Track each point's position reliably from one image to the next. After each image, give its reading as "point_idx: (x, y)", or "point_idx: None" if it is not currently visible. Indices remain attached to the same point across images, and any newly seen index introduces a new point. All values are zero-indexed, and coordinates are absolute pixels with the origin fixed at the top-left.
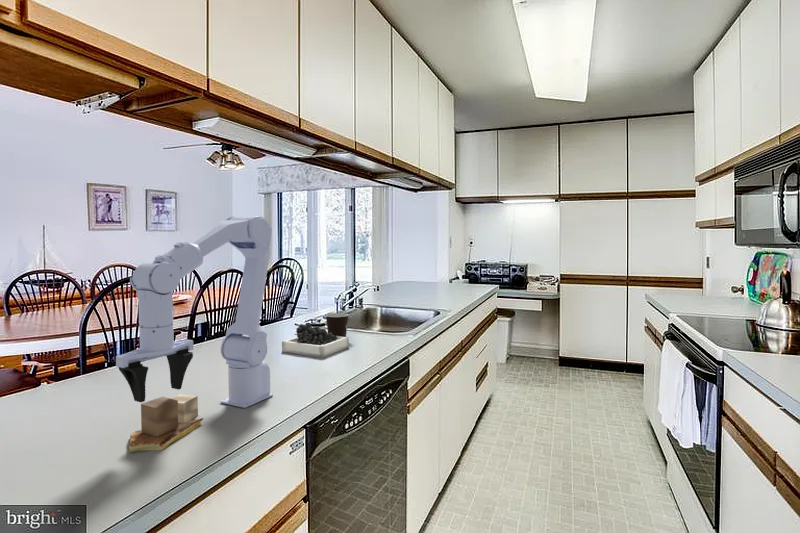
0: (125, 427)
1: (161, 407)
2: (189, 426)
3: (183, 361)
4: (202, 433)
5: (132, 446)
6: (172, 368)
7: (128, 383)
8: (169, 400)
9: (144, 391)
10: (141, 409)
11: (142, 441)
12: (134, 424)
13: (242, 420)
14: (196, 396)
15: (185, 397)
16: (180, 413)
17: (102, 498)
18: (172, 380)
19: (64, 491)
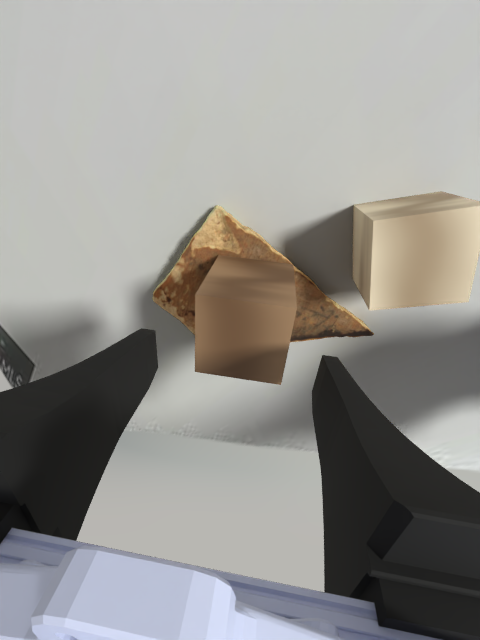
0: (270, 91)
1: (216, 371)
2: (308, 338)
3: (327, 568)
4: (308, 362)
5: (157, 300)
6: (342, 443)
7: (72, 367)
8: (270, 360)
9: (134, 405)
10: (201, 286)
11: (184, 302)
12: (304, 99)
13: (406, 400)
14: (460, 302)
15: (441, 268)
16: (359, 280)
17: (56, 371)
18: (326, 387)
19: (17, 301)
